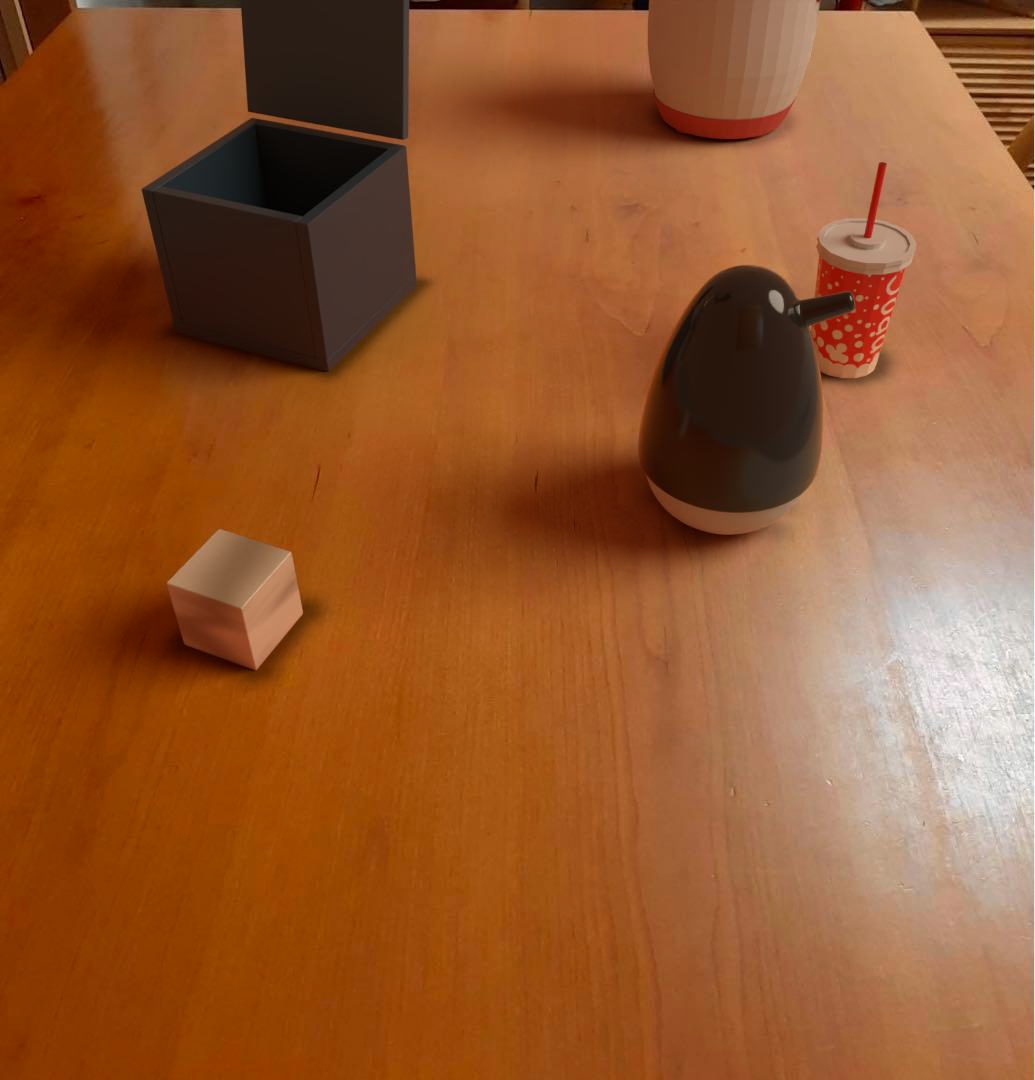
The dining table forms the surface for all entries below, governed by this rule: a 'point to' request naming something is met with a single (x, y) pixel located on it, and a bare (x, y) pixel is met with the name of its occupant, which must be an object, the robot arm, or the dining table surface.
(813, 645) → the dining table surface
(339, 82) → the lid
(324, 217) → the box
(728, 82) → the citrus juicer
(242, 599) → the block
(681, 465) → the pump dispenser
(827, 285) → the beverage cup
